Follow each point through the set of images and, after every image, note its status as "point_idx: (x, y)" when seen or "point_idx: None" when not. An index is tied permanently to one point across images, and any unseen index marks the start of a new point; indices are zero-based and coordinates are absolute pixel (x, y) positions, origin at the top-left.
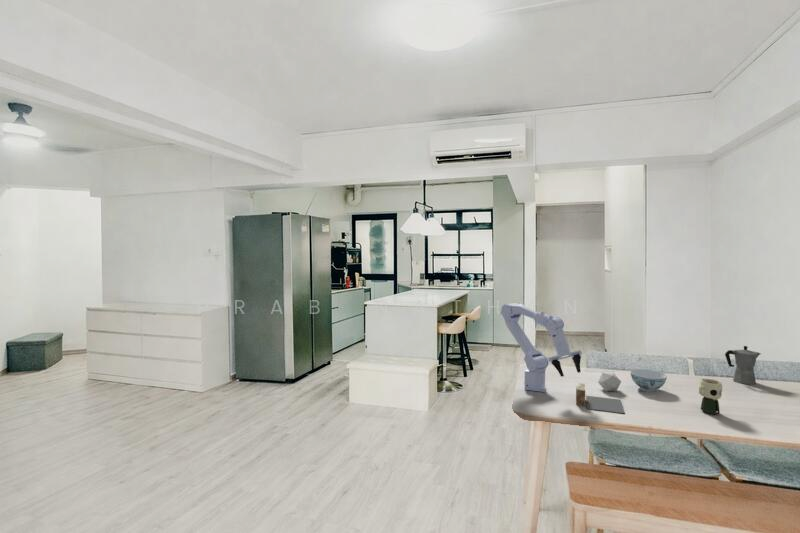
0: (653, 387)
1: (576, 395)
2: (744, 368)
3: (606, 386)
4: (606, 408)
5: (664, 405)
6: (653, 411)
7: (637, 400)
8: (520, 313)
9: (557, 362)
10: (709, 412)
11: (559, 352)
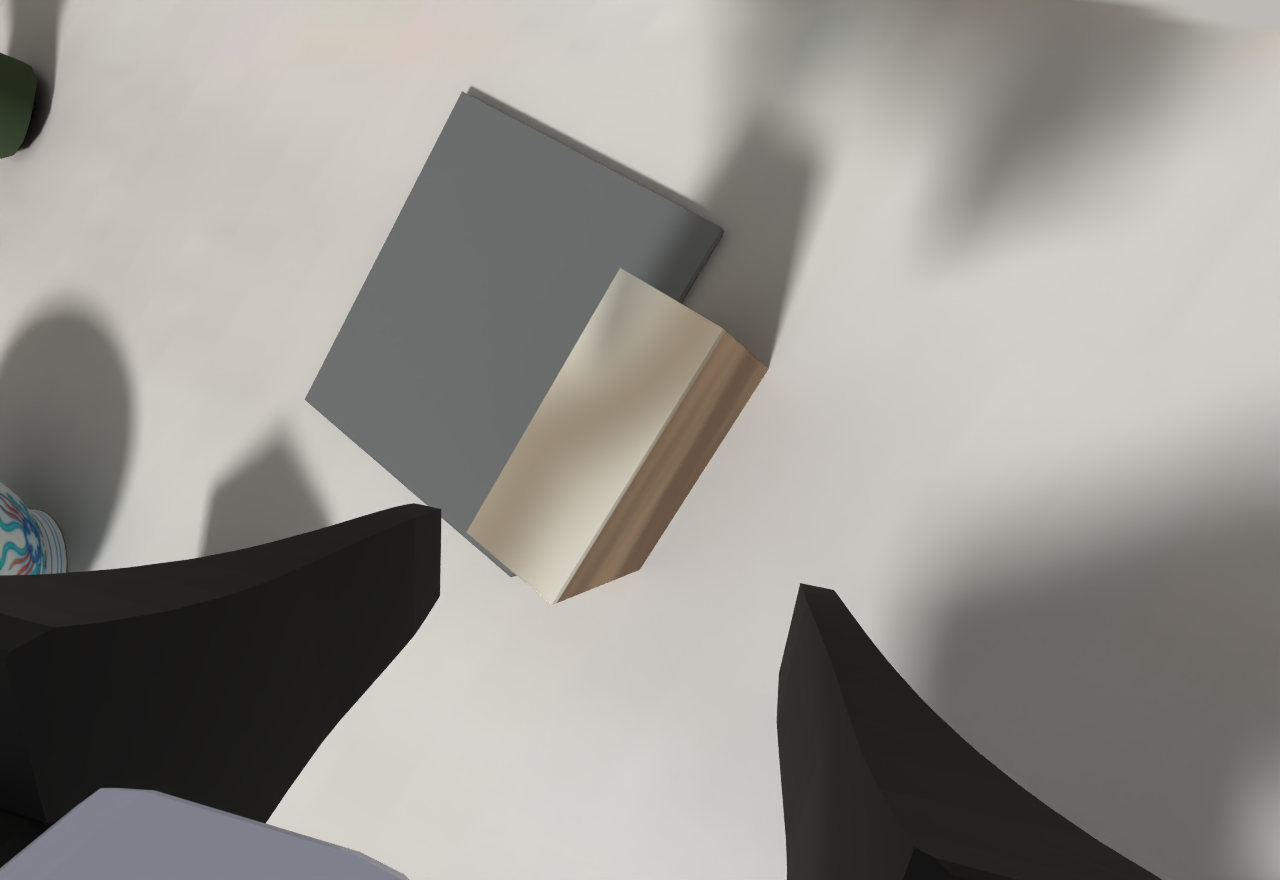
0: None
1: (742, 347)
2: None
3: None
4: (540, 206)
5: (134, 251)
6: (255, 144)
7: (211, 375)
8: None
9: (1057, 864)
10: (27, 69)
11: None
